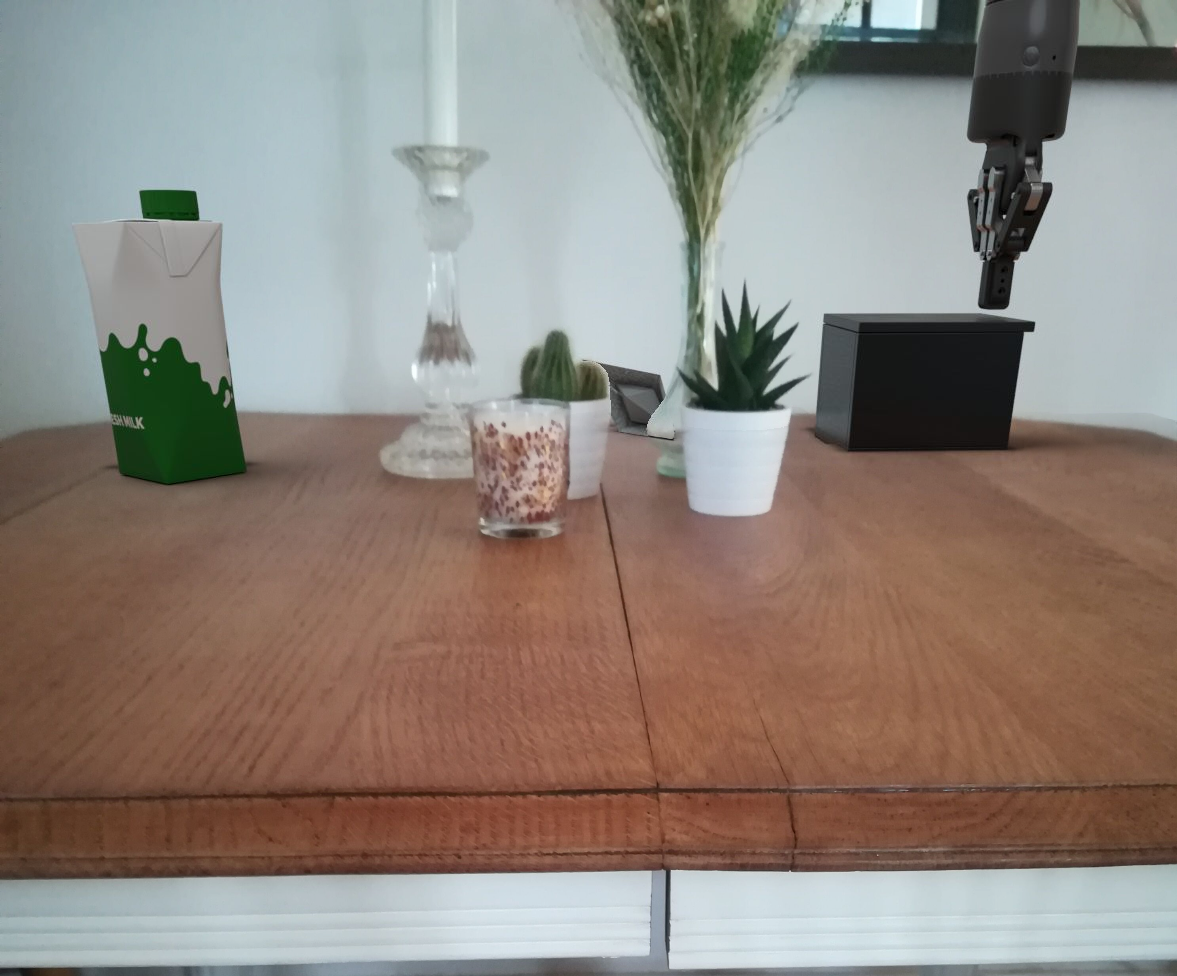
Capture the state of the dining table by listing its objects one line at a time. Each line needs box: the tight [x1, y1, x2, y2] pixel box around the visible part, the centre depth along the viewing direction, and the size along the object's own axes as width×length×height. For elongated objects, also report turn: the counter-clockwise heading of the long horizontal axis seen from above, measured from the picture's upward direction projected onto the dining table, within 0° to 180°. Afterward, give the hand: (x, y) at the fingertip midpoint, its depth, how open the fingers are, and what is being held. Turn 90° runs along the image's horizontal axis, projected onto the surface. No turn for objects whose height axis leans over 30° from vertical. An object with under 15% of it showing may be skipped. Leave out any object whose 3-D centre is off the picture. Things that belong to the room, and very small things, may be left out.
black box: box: [813, 323, 1025, 453], centre depth 101 cm, size 14×13×10 cm
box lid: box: [822, 312, 1036, 333], centre depth 99 cm, size 14×13×1 cm
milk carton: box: [71, 189, 248, 485], centre depth 88 cm, size 9×9×20 cm
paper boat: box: [582, 358, 667, 437], centre depth 109 cm, size 12×6×9 cm
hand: (992, 308), depth 99 cm, fingers closed
